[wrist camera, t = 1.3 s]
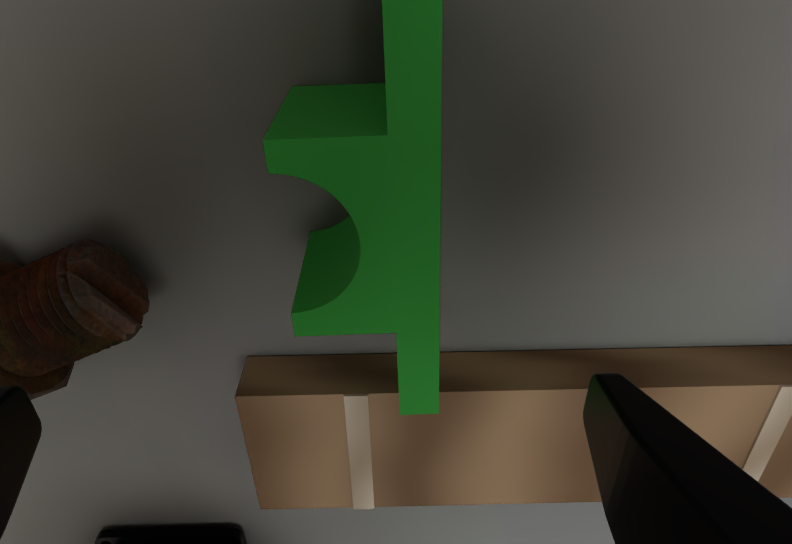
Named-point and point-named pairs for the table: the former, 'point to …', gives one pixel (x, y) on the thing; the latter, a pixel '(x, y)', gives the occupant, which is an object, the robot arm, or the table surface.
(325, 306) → the pipe clamp
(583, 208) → the table surface
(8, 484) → the robot arm
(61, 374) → the bolt
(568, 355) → the brown wooden plank
